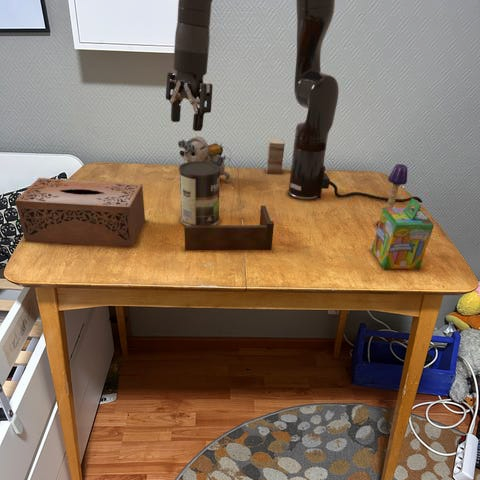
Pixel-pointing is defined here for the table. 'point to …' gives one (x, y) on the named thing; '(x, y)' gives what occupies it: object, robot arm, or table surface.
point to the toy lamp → (396, 183)
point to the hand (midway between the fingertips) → (185, 126)
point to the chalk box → (402, 237)
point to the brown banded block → (275, 156)
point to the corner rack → (231, 235)
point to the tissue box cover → (82, 212)
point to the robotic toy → (203, 153)
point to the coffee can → (199, 193)
